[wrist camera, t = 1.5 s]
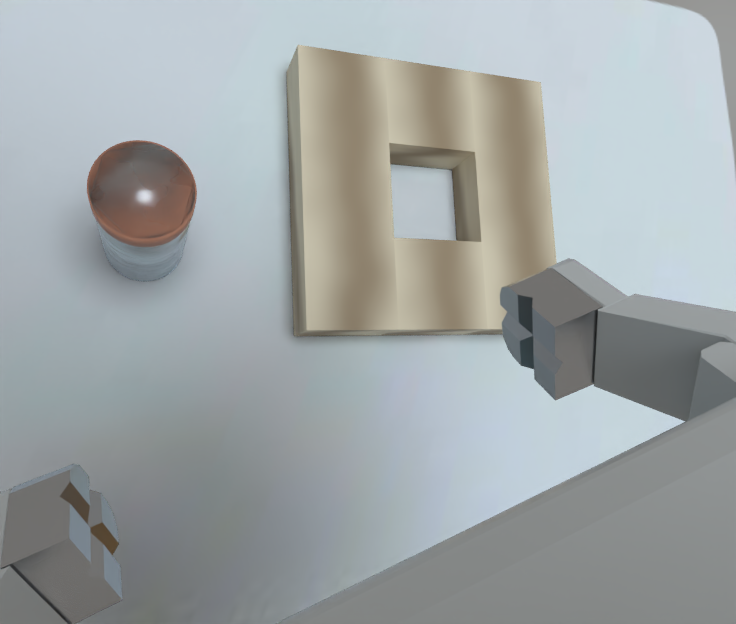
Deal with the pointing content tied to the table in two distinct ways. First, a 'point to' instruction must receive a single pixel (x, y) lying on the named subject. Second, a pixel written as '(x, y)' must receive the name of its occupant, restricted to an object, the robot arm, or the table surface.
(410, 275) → the wooden flat square block
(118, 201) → the steel peg
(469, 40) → the table surface
